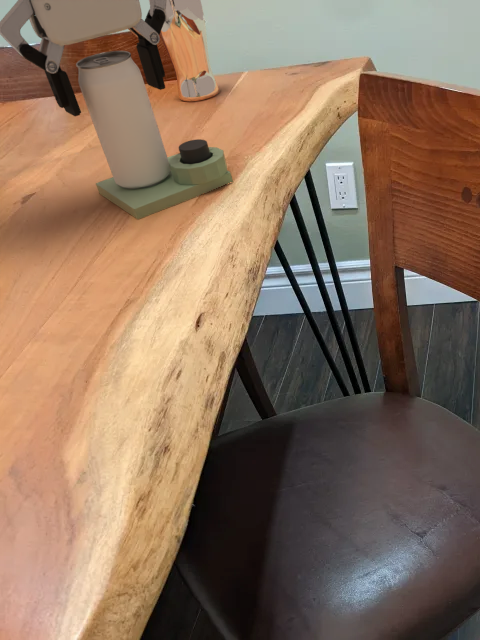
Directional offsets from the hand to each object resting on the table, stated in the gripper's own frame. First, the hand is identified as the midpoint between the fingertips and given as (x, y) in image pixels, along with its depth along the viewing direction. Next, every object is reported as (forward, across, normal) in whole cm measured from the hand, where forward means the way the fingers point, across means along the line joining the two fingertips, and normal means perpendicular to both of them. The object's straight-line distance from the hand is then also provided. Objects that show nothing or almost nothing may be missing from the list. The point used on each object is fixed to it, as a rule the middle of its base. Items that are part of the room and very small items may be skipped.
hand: (116, 99), depth 73 cm
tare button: (+7, -5, +5) cm, 10 cm away
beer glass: (+10, -22, -27) cm, 36 cm away
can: (+8, 0, 0) cm, 8 cm away
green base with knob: (+9, -2, +2) cm, 10 cm away
